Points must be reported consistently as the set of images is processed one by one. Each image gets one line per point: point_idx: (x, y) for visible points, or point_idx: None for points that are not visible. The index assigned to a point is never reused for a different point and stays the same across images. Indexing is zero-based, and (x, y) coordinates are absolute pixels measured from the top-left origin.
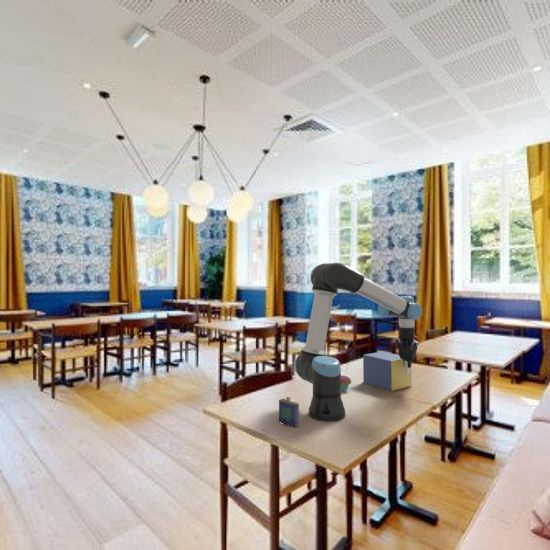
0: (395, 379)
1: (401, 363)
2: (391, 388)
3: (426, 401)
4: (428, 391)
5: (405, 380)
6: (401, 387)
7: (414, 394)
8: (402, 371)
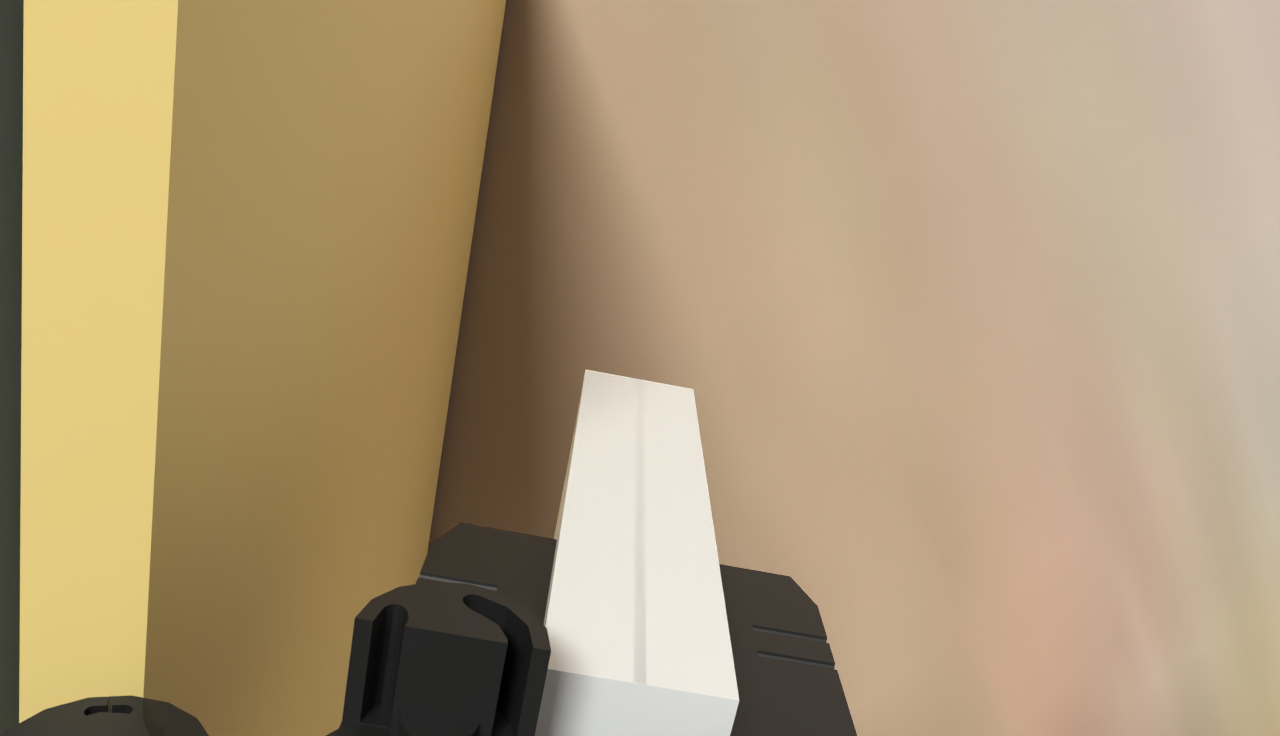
0: None
1: (248, 666)
2: None
3: (1212, 711)
4: (1051, 36)
5: (456, 184)
6: (459, 319)
7: (872, 482)
8: (367, 421)
